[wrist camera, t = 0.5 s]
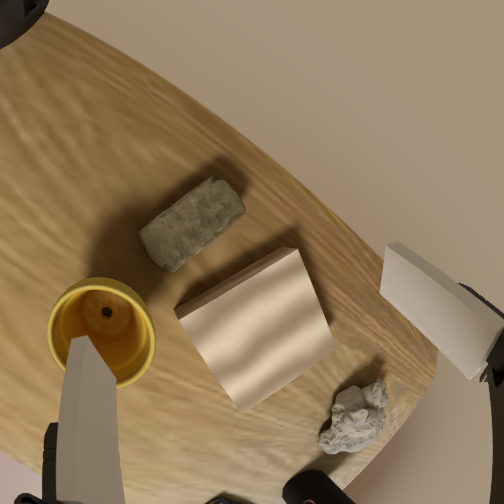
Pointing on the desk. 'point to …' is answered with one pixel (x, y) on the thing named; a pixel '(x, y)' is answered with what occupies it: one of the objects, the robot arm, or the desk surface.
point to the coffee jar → (314, 490)
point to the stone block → (191, 223)
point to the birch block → (259, 327)
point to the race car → (223, 501)
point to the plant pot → (104, 326)
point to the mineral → (355, 418)
